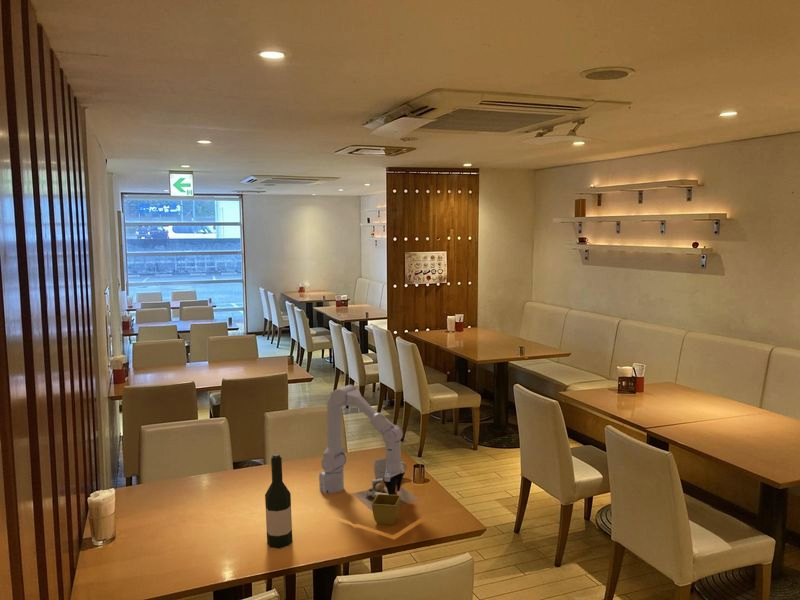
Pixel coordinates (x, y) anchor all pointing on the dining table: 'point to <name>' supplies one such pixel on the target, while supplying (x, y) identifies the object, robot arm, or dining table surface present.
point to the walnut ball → (379, 487)
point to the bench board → (403, 493)
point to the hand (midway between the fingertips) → (394, 493)
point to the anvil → (376, 482)
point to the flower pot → (386, 508)
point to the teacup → (382, 468)
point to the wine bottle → (278, 508)
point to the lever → (373, 494)
